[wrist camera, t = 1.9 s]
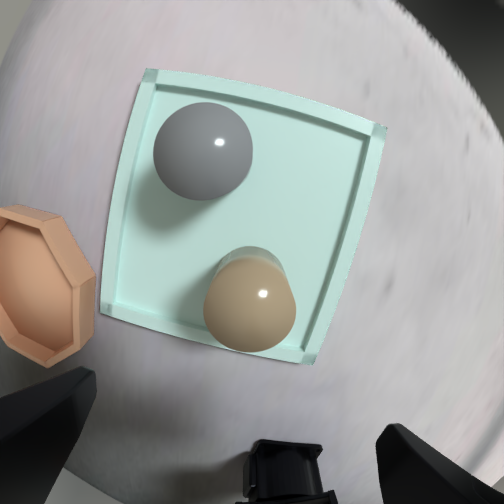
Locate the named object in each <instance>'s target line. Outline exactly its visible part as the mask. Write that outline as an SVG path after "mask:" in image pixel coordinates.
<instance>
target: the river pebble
mask: <svg viewBox="0 0 504 504" xmlns="http://www.w3.org/2000/svg"><path fill="white" fill-rule="evenodd" d="M203 315H204V320H205V324H206V326H207V328H208V330H209V332H210V333H211V334H212V336H213V337H214V338H215V339H216V340H217V341H218V342H220V343H221V344H222V345H224V346H226V347H228V348H230V349H232V350H236V351H239V352H248V353H252V352H260V351H264V350H267V349H270V348H272V347H274V346H276V345H277V344H279V343H280V342H281V341H282V340H283V339H284V338H286V336H287V335H288V334H289V332H290V331H291V329H292V327H293V325H294V322H295V318H296V304H295V300H294V297H293V294H292V291H291V288H290V285H289V282H288V280H287V277H286V274H285V271H284V269H283V266H282V264H281V262H280V261H279V260H278V258H277V257H276V256H275V255H274V254H272V253H271V252H269V251H268V250H266V249H263V248H260V247H256V246H244V247H240V248H237V249H234V250H232V251H231V252H229V253H228V254H227V255H225V256H224V257H223V259H222V260H221V261H220V263H219V264H218V267H217V269H216V271H215V274H214V276H213V279H212V282H211V284H210V287H209V289H208V292H207V295H206V297H205V301H204V306H203Z"/></svg>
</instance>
